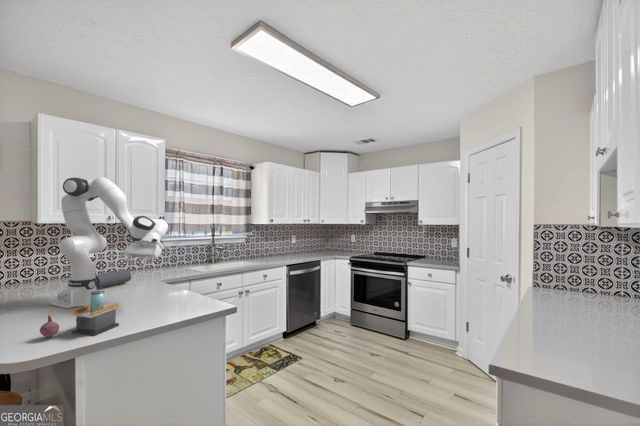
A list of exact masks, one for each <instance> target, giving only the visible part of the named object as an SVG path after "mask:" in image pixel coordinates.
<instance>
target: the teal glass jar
mask: <svg viewBox="0 0 640 426" xmlns="http://www.w3.org/2000/svg"><path fill="white" fill-rule="evenodd" d="M104 305H105V290H97V291H93V292H91V298H90V311H95V310H98V309H101V308H104Z"/></svg>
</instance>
